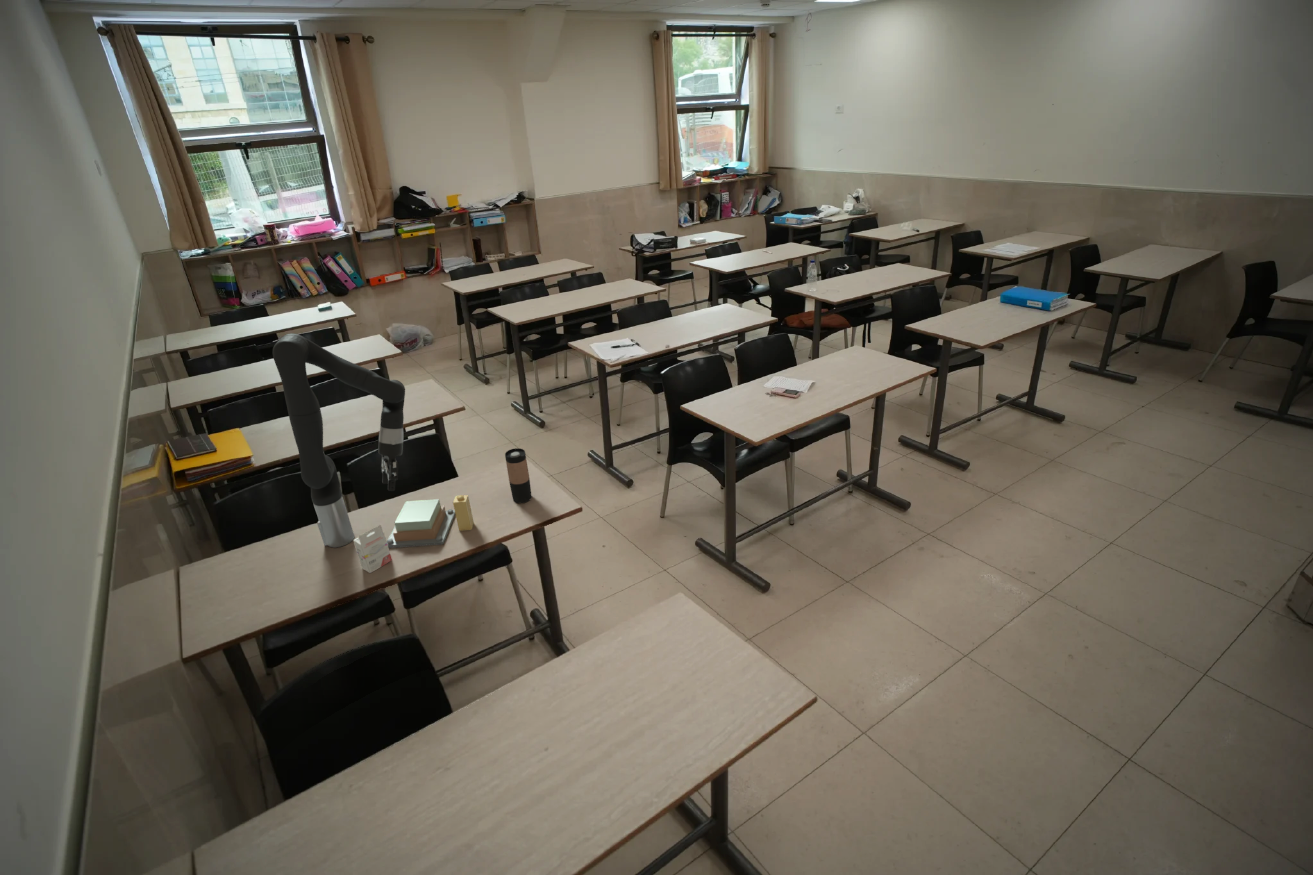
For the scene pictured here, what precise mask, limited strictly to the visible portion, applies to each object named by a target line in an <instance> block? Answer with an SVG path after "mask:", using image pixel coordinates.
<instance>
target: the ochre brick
mask: <svg viewBox="0 0 1313 875" xmlns="http://www.w3.org/2000/svg"><path fill="white" fill-rule="evenodd" d="M452 504H453V510H455V518H456V519H455V520H456V522H457V526H458V527H457V528H458V530H459V532H460V531H471V530H473V527H474V523H475V522H474V516H473V512H472V508H471V502H470V498H469V495H468V494H467V495H465V494H464V495H463V494H459V495H455V497H454V499H453V502H452Z"/></svg>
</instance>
